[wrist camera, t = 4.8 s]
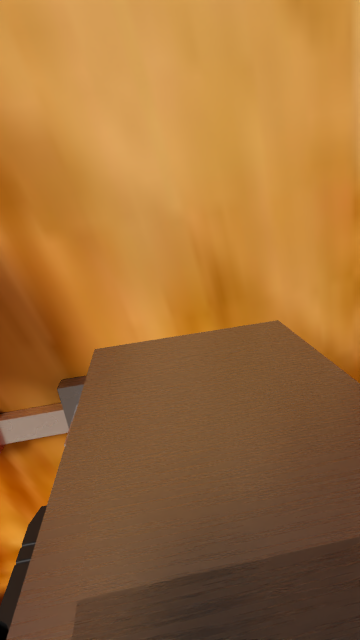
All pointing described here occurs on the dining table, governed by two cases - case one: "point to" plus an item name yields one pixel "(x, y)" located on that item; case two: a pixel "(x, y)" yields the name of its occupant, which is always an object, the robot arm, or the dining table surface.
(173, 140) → the dining table surface
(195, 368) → the rimmed grey cube
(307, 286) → the dining table surface
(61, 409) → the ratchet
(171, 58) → the dining table surface
